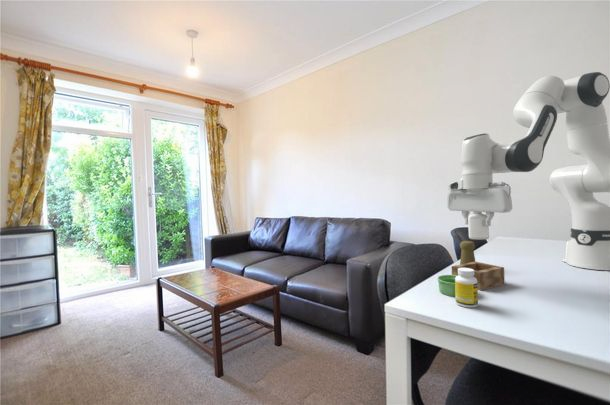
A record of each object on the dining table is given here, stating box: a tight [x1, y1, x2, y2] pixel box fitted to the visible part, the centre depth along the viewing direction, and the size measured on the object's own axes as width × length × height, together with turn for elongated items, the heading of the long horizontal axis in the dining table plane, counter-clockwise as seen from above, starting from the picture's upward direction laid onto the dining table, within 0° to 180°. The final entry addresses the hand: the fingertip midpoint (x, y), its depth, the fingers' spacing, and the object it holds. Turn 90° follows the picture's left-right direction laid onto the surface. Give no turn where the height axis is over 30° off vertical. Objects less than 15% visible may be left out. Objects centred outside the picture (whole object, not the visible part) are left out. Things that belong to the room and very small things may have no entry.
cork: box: [459, 240, 476, 265], centre depth 113 cm, size 6×6×11 cm
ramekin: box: [436, 274, 458, 298], centre depth 88 cm, size 9×9×4 cm
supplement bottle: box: [454, 268, 479, 309], centre depth 79 cm, size 5×5×10 cm
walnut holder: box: [451, 261, 505, 292], centre depth 96 cm, size 12×10×6 cm
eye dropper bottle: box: [467, 211, 490, 241], centre depth 95 cm, size 4×6×12 cm
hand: (477, 225), depth 95 cm, fingers closed on eye dropper bottle, 5 cm apart
